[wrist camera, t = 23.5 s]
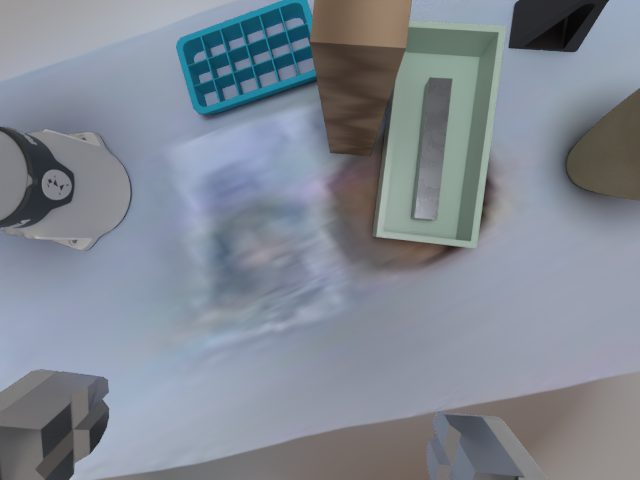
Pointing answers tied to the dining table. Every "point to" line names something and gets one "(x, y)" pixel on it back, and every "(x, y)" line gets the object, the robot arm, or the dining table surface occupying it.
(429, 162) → the gray rectangular bar
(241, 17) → the ice cube tray
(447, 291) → the dining table surface
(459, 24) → the green tray
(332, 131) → the walnut stand
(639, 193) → the plant pot
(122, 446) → the dining table surface
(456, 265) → the dining table surface
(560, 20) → the phone stand
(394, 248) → the dining table surface
